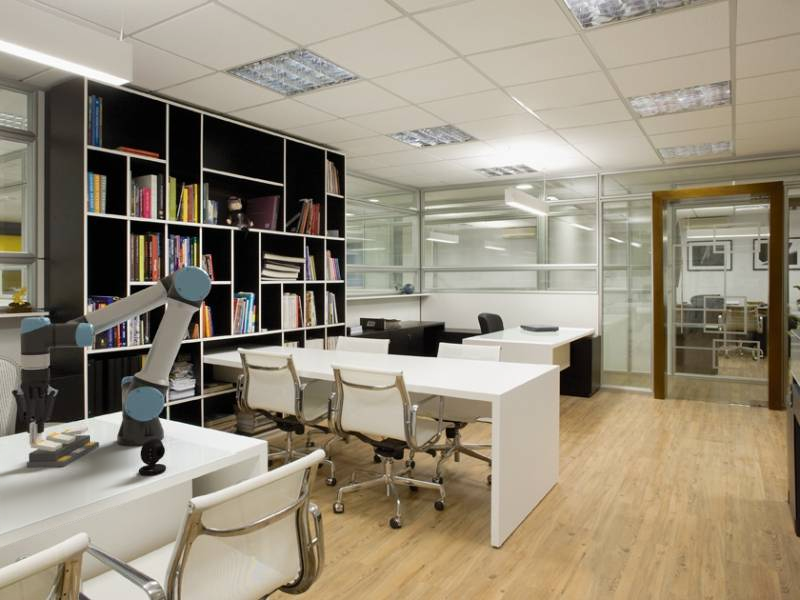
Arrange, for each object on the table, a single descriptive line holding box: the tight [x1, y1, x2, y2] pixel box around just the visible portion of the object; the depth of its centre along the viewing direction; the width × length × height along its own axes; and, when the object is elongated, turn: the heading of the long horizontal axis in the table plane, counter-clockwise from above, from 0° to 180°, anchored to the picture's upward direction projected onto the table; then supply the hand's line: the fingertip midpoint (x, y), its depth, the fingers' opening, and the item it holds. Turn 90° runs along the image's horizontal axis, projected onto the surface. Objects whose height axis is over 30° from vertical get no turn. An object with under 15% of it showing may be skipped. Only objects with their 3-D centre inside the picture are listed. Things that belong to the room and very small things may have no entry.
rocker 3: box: [59, 426, 89, 436], centre depth 187 cm, size 7×4×1 cm, turn 92°
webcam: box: [138, 438, 167, 477], centre depth 165 cm, size 8×8×10 cm
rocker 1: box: [30, 439, 62, 451], centre depth 172 cm, size 7×4×1 cm, turn 92°
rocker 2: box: [45, 431, 76, 444], centre depth 180 cm, size 7×4×1 cm, turn 92°
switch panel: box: [26, 434, 100, 468], centre depth 180 cm, size 11×21×4 cm, turn 2°
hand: (35, 443), depth 172 cm, fingers closed, pressing on rocker 1
